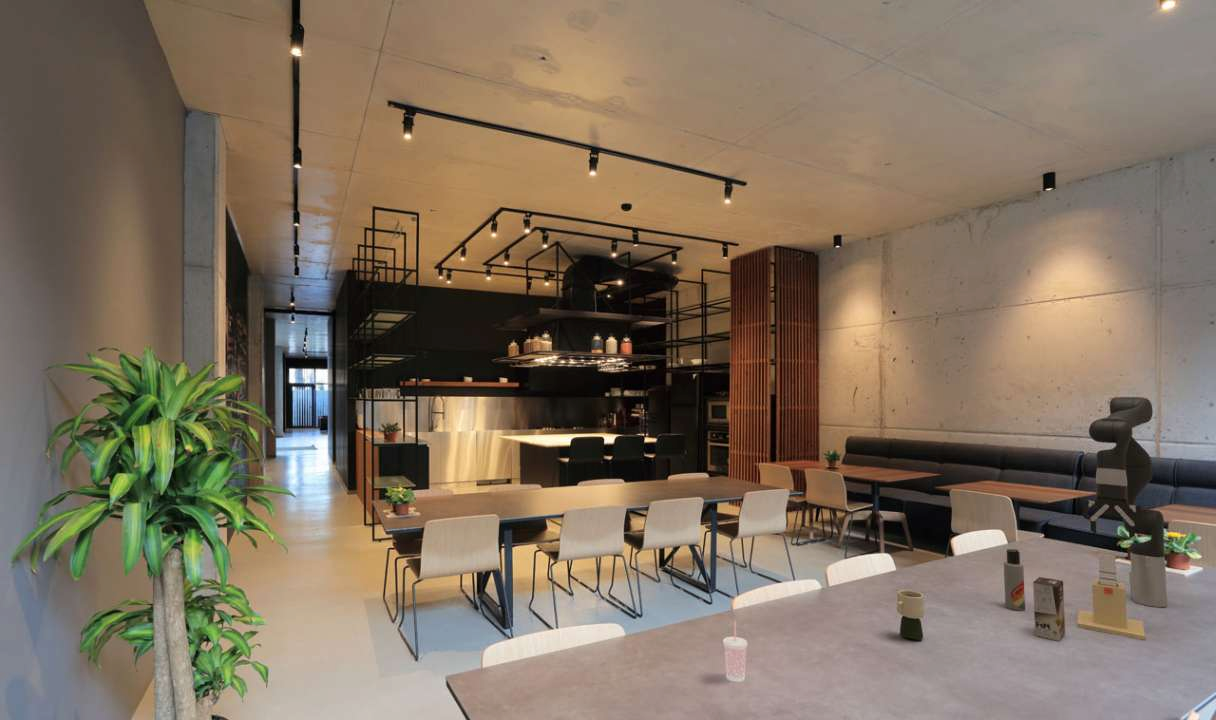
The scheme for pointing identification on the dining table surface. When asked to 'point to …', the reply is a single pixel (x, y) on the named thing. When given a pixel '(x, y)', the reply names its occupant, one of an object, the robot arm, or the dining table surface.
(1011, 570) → the lotion bottle
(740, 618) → the dining table surface
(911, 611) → the character mug
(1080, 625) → the stand
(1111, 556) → the column
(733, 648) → the beverage cup
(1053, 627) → the coffee box
